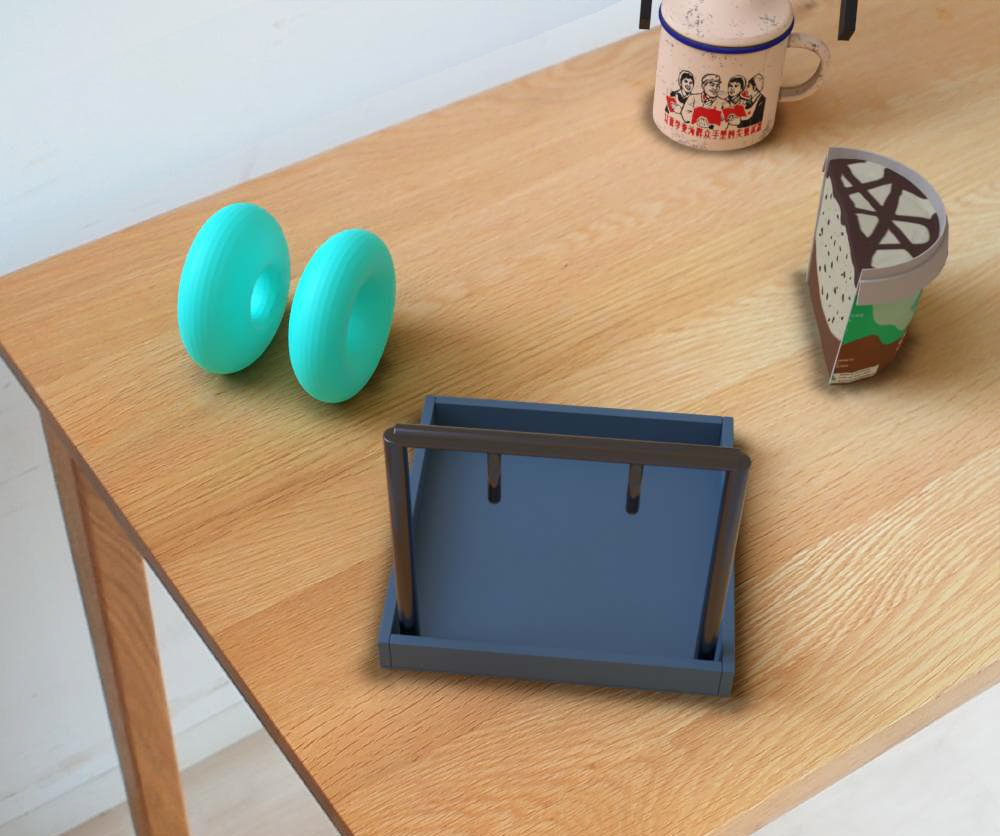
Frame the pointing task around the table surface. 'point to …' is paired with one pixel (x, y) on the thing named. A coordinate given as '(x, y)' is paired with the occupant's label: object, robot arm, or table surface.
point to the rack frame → (572, 449)
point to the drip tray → (564, 556)
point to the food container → (871, 258)
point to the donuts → (263, 297)
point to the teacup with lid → (727, 70)
